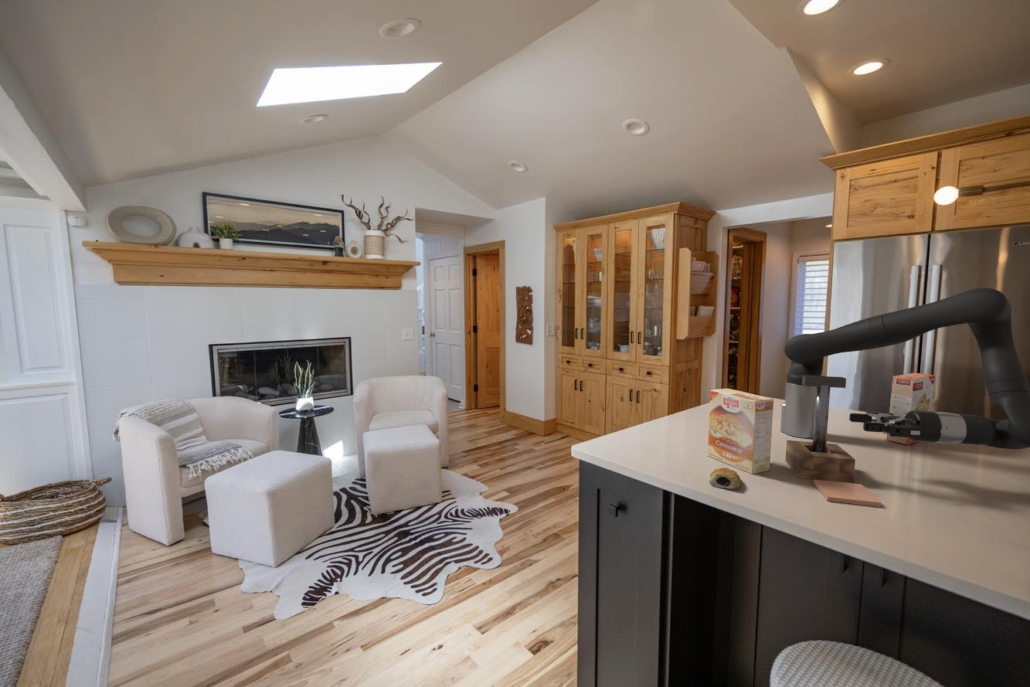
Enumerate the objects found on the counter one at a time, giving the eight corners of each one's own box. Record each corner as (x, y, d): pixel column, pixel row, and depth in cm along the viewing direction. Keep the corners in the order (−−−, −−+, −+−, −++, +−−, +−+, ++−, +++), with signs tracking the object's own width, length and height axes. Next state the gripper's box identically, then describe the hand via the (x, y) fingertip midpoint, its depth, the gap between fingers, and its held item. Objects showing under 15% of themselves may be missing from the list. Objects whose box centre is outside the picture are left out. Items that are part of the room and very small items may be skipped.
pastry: (714, 473, 119) (715, 459, 119) (742, 479, 116) (743, 465, 115) (708, 486, 111) (708, 471, 111) (738, 493, 108) (739, 477, 107)
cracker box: (908, 446, 139) (915, 378, 137) (885, 440, 144) (891, 375, 142) (930, 439, 146) (936, 374, 143) (906, 434, 151) (912, 371, 149)
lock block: (798, 477, 116) (799, 454, 115) (785, 460, 127) (786, 440, 127) (853, 483, 112) (855, 459, 112) (835, 465, 124) (836, 444, 123)
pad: (827, 501, 103) (827, 496, 103) (813, 483, 112) (813, 479, 112) (880, 507, 100) (880, 502, 100) (860, 488, 109) (861, 484, 109)
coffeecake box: (706, 456, 132) (709, 389, 129) (724, 452, 134) (727, 387, 132) (751, 474, 118) (755, 400, 116) (770, 470, 121) (775, 398, 119)
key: (800, 464, 119) (806, 377, 117) (796, 459, 123) (801, 374, 120) (840, 468, 116) (847, 379, 114) (834, 463, 120) (841, 376, 118)
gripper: (919, 405, 118) (846, 401, 122) (954, 419, 104) (870, 414, 109) (917, 433, 119) (844, 428, 123) (950, 451, 105) (867, 444, 110)
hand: (856, 421), depth 116 cm, fingers open, 8 cm apart
